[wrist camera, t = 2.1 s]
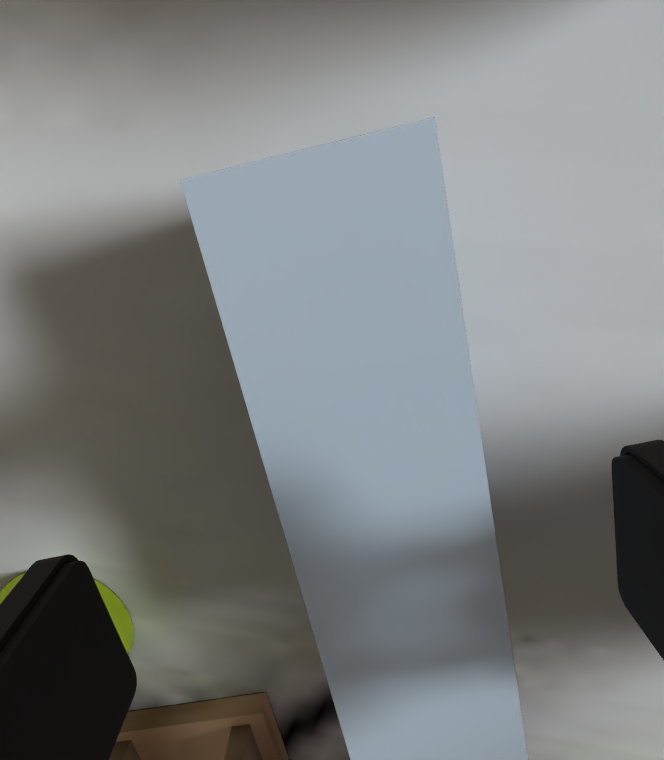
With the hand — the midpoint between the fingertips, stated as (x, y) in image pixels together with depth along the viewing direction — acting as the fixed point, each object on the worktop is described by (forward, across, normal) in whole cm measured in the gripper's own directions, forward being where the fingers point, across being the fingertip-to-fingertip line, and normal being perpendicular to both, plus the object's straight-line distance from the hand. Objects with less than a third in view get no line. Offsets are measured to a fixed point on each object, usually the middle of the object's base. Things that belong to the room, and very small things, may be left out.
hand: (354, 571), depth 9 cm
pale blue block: (+10, -1, 0) cm, 10 cm away
